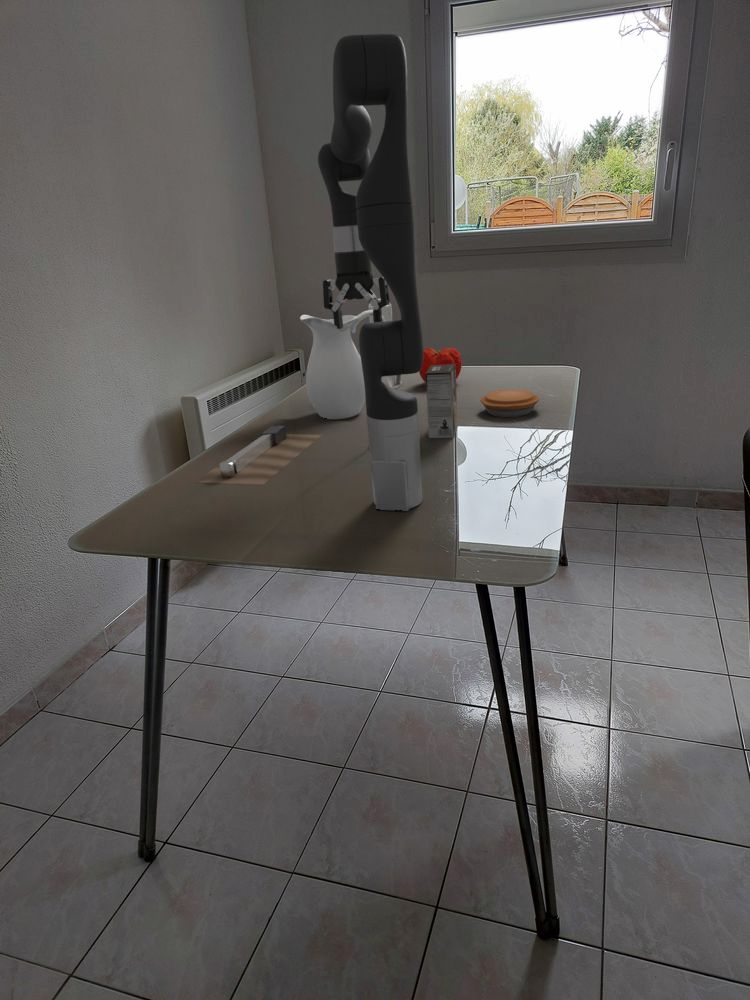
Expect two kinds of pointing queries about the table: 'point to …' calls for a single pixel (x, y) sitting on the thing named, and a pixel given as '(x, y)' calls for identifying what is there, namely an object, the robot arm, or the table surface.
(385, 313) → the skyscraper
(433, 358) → the tomato
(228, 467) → the arm
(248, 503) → the table surface
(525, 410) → the pie
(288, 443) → the board
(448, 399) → the coffee box
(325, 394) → the pitcher
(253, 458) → the arm
